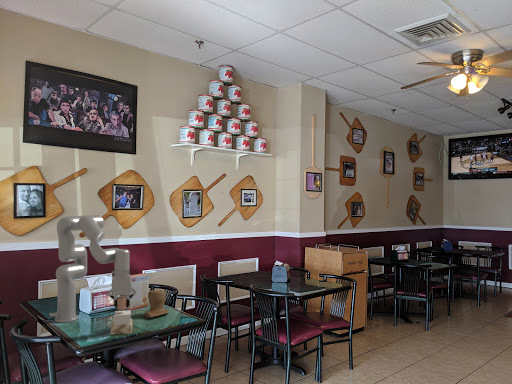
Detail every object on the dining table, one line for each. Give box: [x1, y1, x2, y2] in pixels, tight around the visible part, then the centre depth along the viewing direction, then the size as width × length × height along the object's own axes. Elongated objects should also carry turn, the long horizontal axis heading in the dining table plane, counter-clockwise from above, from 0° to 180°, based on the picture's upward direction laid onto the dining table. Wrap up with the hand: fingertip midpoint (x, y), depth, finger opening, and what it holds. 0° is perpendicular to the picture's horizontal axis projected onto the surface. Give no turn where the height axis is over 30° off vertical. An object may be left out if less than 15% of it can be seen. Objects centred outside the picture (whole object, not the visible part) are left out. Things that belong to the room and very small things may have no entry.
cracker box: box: [124, 273, 150, 311], centre depth 262 cm, size 14×6×21 cm, turn 136°
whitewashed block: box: [113, 309, 132, 325], centre depth 216 cm, size 8×8×5 cm
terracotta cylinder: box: [116, 295, 127, 311], centre depth 216 cm, size 5×5×6 cm
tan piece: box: [143, 289, 170, 319], centre depth 245 cm, size 15×12×15 cm
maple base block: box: [110, 318, 133, 336], centre depth 216 cm, size 10×10×5 cm
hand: (121, 307), depth 216 cm, fingers closed on terracotta cylinder, 5 cm apart
